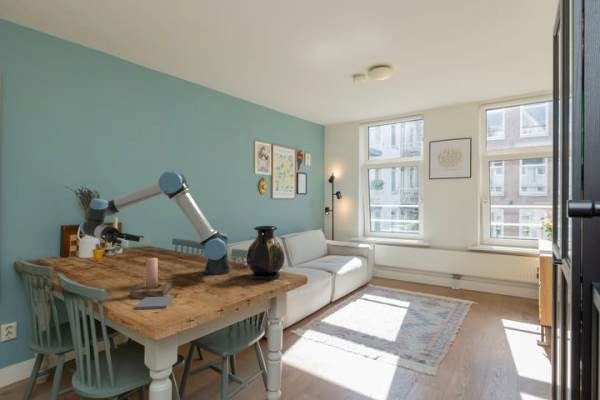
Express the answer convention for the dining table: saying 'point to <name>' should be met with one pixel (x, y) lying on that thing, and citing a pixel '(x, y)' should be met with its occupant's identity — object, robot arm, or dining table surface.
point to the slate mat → (154, 302)
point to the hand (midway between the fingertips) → (139, 243)
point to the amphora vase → (265, 255)
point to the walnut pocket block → (151, 290)
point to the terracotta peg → (152, 273)
